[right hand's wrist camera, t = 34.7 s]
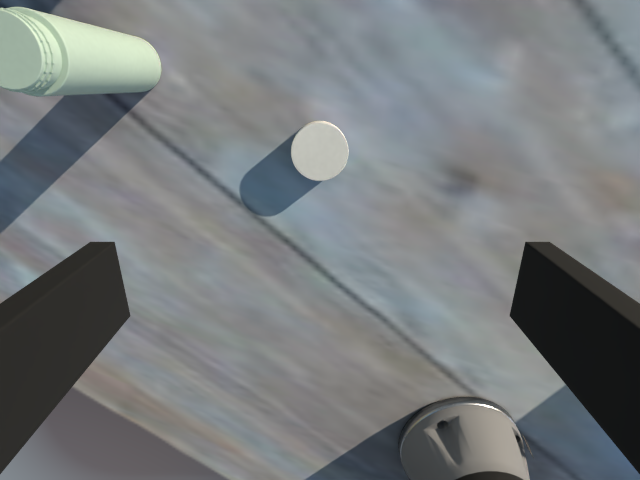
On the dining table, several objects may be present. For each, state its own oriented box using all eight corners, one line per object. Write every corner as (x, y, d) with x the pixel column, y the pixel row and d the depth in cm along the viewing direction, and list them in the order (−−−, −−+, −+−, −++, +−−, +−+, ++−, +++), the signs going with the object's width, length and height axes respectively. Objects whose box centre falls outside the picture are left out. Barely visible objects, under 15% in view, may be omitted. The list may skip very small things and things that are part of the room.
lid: (338, 113, 35) (339, 114, 34) (353, 167, 37) (355, 171, 35) (284, 130, 36) (282, 133, 34) (302, 183, 38) (301, 187, 36)
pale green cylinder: (154, 100, 35) (42, 111, 21) (104, 79, 34) (-46, 75, 20) (167, 50, 33) (56, 25, 19) (116, 26, 33) (-38, -18, 19)
